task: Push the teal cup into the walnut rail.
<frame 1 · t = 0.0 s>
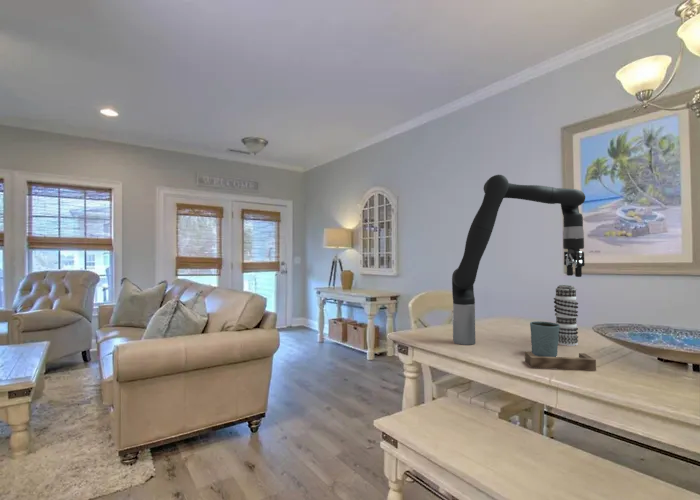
hand: (574, 276, 156), 29 cm above the table, fingers open, 8 cm apart
decorative candle: (566, 343, 160), on the table
teal cup: (545, 355, 143), on the table
walnut rail: (562, 368, 126), on the table
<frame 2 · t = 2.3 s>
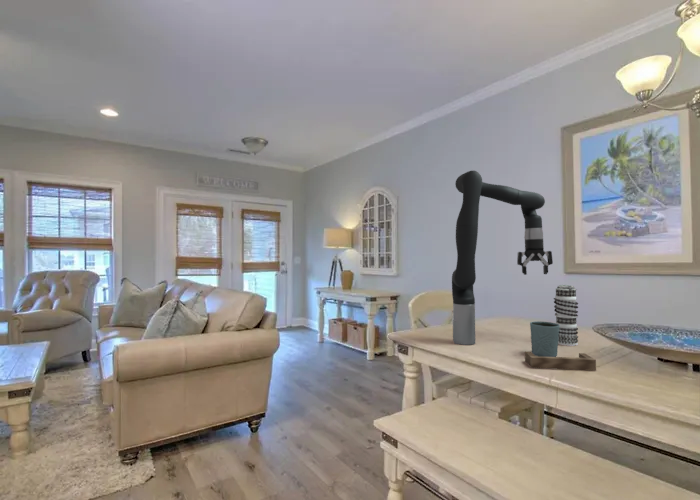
hand: (535, 274, 167), 30 cm above the table, fingers open, 8 cm apart
nothing on the table moved.
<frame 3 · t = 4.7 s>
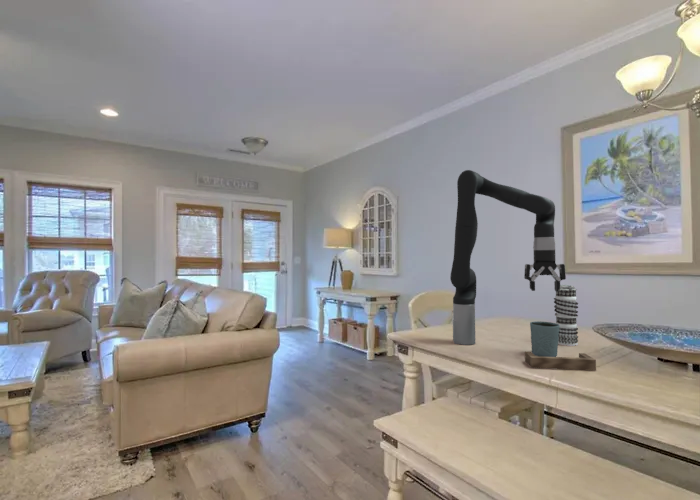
hand: (544, 290, 144), 25 cm above the table, fingers open, 8 cm apart
nothing on the table moved.
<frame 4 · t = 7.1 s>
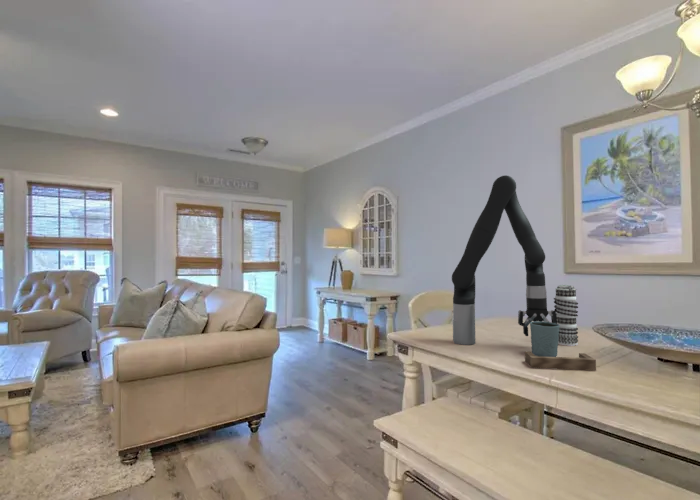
hand: (537, 335, 152), 5 cm above the table, fingers open, 8 cm apart
nothing on the table moved.
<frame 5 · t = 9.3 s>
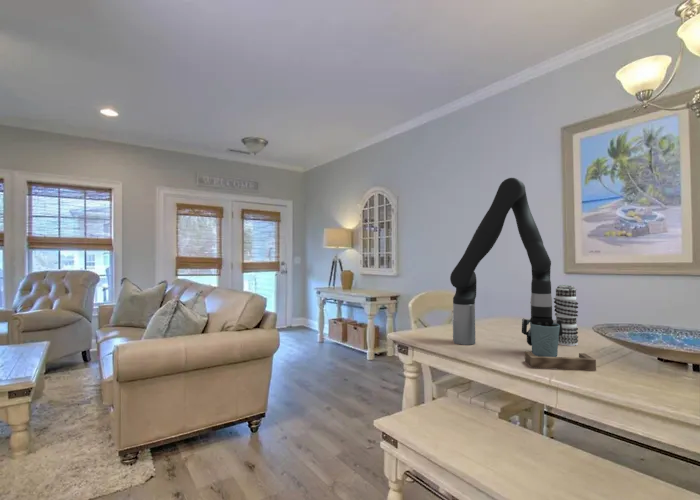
hand: (541, 345, 146), 3 cm above the table, fingers open, 8 cm apart
teal cup: (545, 355, 142), on the table, touching gripper
everything else where it was.
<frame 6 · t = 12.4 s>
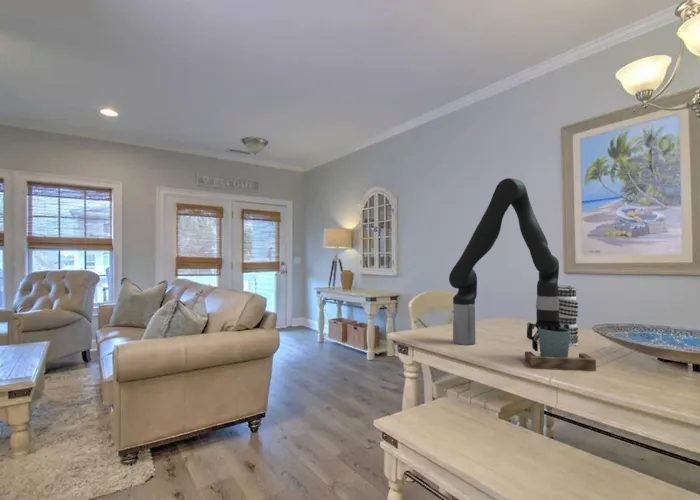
hand: (548, 351, 138), 2 cm above the table, fingers open, 8 cm apart
teal cup: (554, 362, 133), on the table
everything else where it was.
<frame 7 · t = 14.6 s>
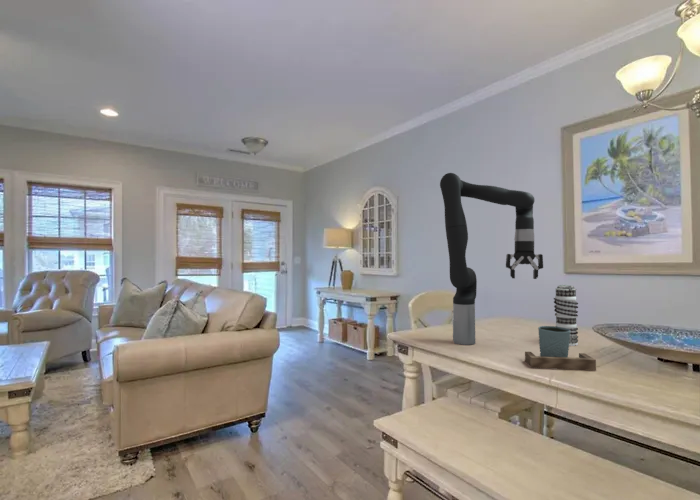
hand: (524, 278, 156), 28 cm above the table, fingers open, 8 cm apart
nothing on the table moved.
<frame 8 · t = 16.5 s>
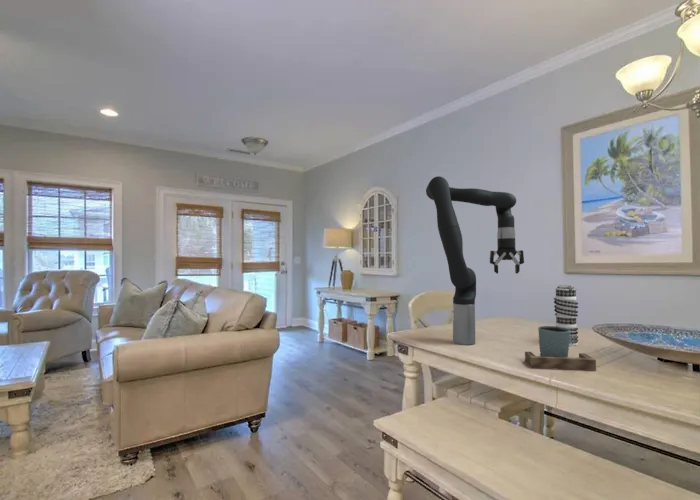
hand: (506, 273, 168), 30 cm above the table, fingers open, 8 cm apart
nothing on the table moved.
at the end: teal cup inside the target area (1.4 cm from its centre), on the table; teal cup tilted 0°; teal cup moved 9.4 cm from its start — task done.
